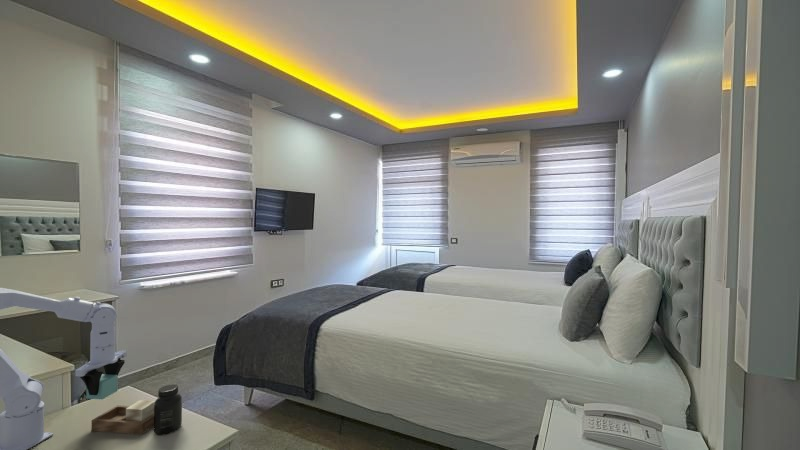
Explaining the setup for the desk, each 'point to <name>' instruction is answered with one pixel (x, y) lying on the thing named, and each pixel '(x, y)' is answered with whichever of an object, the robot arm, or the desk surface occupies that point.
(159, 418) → the supplement bottle
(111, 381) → the teal block
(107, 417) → the walnut puzzle board
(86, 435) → the desk surface
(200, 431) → the desk surface
